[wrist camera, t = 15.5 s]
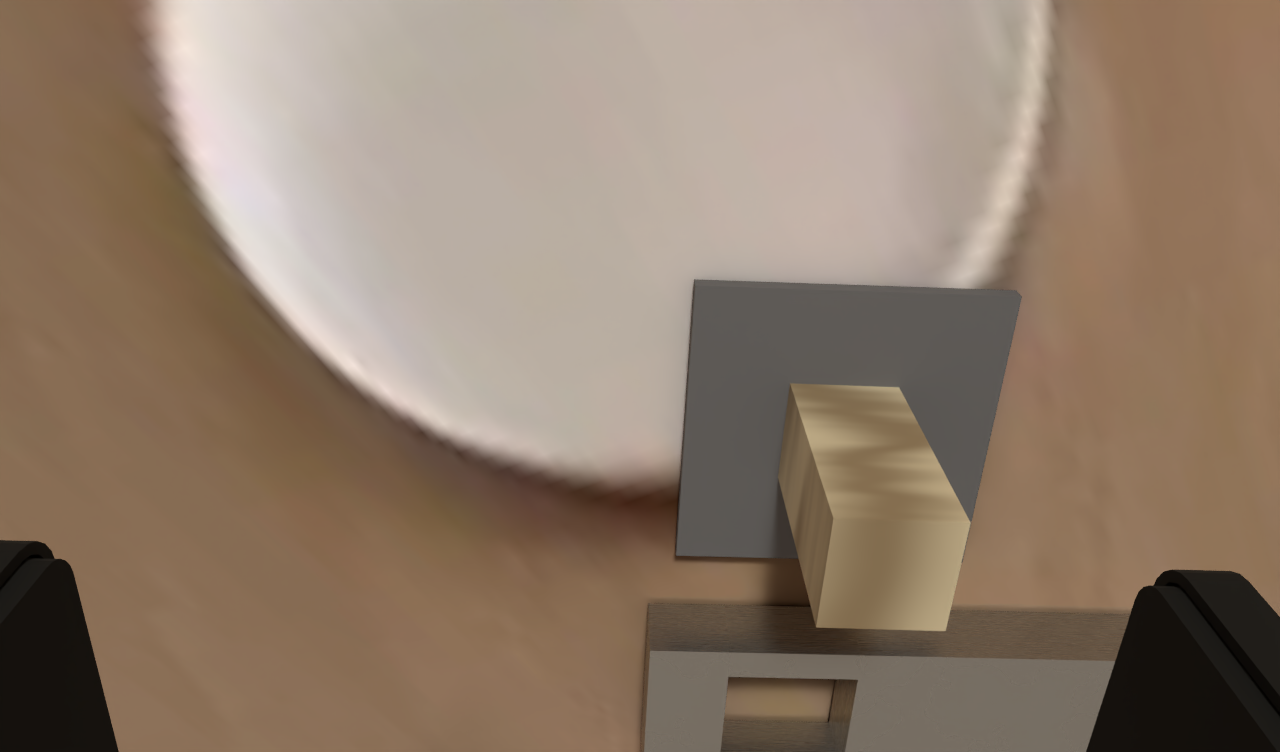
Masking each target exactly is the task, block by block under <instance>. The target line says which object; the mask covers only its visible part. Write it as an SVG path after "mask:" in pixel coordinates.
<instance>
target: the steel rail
mask: <svg viewBox="0 0 1280 752" xmlns="http://www.w3.org/2000/svg"><path fill="white" fill-rule="evenodd" d="M1129 617H1130V614H1088V613H1045V612H1003V611H960V610H950V614H949V619H948V623H947V627H946V631H923V630H887V629H851V628H816V625H815V621H814V617H813V613H812V609H811V607H791V606H748V605H706V604H663V603H648V620H647V637H646V654H645V672H644V689H643V707H642V724H641V752H1086V750H1087V747H1088V744H1089V741H1090V738H1091V735H1092V732H1093V728H1094V725H1095V722H1096V719H1097V716H1098V713H1099V710H1100V707H1101V704H1102V701H1103V698H1104V694H1105V691H1106V688H1107V685H1108V682H1109V679H1110V676H1111V673H1112V670H1113V667H1114V664H1115V660H1116V657H1117V654H1118V651H1119V648H1120V645H1121V642H1122V639H1123V636H1124V633H1125V629H1126V626H1127V623H1128V620H1129ZM728 677H759V678H805V679H836V682H835V688H834V694H833V700H832V706H831V712H830V718H829V722H795V721H745V720H724V714H725V704H726V695H727V685H728Z"/></svg>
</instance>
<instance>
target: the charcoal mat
mask: <svg viewBox="0 0 1280 752" xmlns="http://www.w3.org/2000/svg"><path fill="white" fill-rule="evenodd" d="M1021 298H1022V296H1021V295H1020V294H1019V293H1018V292H1017V291H1015V290H985V289H956V288H926V287H896V286H867V285H837V284H808V283H778V282H749V281H719V280H694V290H693V304H692V318H691V333H690V347H689V361H688V375H687V390H686V404H685V418H684V433H683V447H682V461H681V475H680V490H679V504H678V518H677V532H676V556H713V557H753V558H793V559H799V558H798V554H797V550H796V546H795V542H794V538H793V534H792V530H791V526H790V523H789V519H788V515H787V511H786V507H785V503H784V499H783V495H782V491H781V487H780V483H779V479H778V473H779V465H780V458H781V450H782V442H783V434H784V426H785V418H786V411H787V403H788V395H789V387H790V383H794V384H821V385H849V386H876V387H899V388H900V390H901V392H902V394H903V396H904V397H905V399H906V401H907V403H908V405H909V407H910V409H911V411H912V413H913V414H914V416H915V418H916V420H917V422H918V424H919V426H920V428H921V430H922V432H923V433H924V435H925V437H926V439H927V441H928V443H929V445H930V447H931V449H932V450H933V452H934V454H935V456H936V458H937V460H938V462H939V464H940V466H941V468H942V469H943V471H944V473H945V475H946V477H947V479H948V481H949V483H950V485H951V487H952V488H953V490H954V492H955V494H956V496H957V498H958V500H959V502H960V504H961V505H962V507H963V509H964V511H965V513H966V515H967V517H968V519H969V521H970V523H971V521H972V517H973V512H974V508H975V503H976V499H977V494H978V490H979V485H980V481H981V476H982V472H983V468H984V463H985V459H986V454H987V450H988V445H989V441H990V436H991V432H992V427H993V423H994V418H995V414H996V410H997V405H998V401H999V396H1000V392H1001V387H1002V383H1003V378H1004V374H1005V369H1006V365H1007V360H1008V356H1009V352H1010V347H1011V343H1012V338H1013V334H1014V329H1015V325H1016V320H1017V316H1018V311H1019V307H1020V302H1021ZM970 526H971V524H970ZM969 530H970V528H969ZM968 534H969V532H968ZM967 539H968V537H967ZM966 543H967V541H966ZM965 548H966V545H965ZM964 552H965V550H964ZM963 557H964V554H963ZM962 561H963V558H962Z"/></svg>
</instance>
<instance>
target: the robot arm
mask: <svg viewBox="0 0 1280 752" xmlns="http://www.w3.org/2000/svg"><path fill="white" fill-rule="evenodd" d="M0 752H119V751H118V747H117V743H116V740H115V736H114V732H113V728H112V724H111V720H110V716H109V712H108V708H107V704H106V700H105V696H104V692H103V688H102V684H101V680H100V676H99V672H98V668H97V664H96V660H95V657H94V653H93V649H92V645H91V641H90V637H89V633H88V629H87V625H86V621H85V617H84V613H83V609H82V605H81V601H80V597H79V593H78V589H77V585H76V581H75V578H74V574H73V571H72V569H71V566H70V565H69V564H68V563H67V562H66V561H65V560H62V559H54V556H53V554H52V551H51V550H50V549H49V548H48V547H47V545H46V544H44V543H41V542H38V541H5V540H0ZM1086 752H1280V617H1279V616H1278V615H1277V613H1276V612H1275V611H1274V610H1273V609H1272V608H1271V607H1270V605H1269V604H1268V603H1267V602H1266V601H1265V600H1264V598H1263V597H1262V596H1261V595H1260V594H1259V593H1258V592H1257V590H1256V589H1255V588H1254V587H1253V586H1252V585H1251V584H1250V582H1249V581H1248V580H1246V579H1245V578H1244V577H1243V576H1242V575H1240V574H1238V573H1235V572H1232V571H1203V570H1169V571H1165V572H1163V573H1162V574H1161V575H1160V576H1159V577H1158V578H1157V580H1156V582H1155V584H1154V586H1146V587H1143V588H1142V589H1141V590H1140V591H1139V592H1138V595H1137V597H1136V599H1135V602H1134V605H1133V608H1132V611H1131V614H1130V617H1129V620H1128V623H1127V626H1126V629H1125V633H1124V636H1123V639H1122V642H1121V645H1120V648H1119V651H1118V654H1117V657H1116V660H1115V664H1114V667H1113V670H1112V673H1111V676H1110V679H1109V682H1108V685H1107V688H1106V691H1105V694H1104V698H1103V701H1102V704H1101V707H1100V710H1099V713H1098V716H1097V719H1096V722H1095V725H1094V728H1093V732H1092V735H1091V738H1090V741H1089V744H1088V747H1087V750H1086Z"/></svg>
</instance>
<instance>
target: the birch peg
mask: <svg viewBox="0 0 1280 752" xmlns="http://www.w3.org/2000/svg"><path fill="white" fill-rule="evenodd" d="M778 479H779V483H780V487H781V491H782V495H783V499H784V503H785V507H786V511H787V515H788V519H789V523H790V526H791V530H792V534H793V538H794V542H795V546H796V550H797V554H798V558H799V562H800V566H801V570H802V574H803V578H804V582H805V586H806V590H807V594H808V598H809V601H810V605H811V609H812V613H813V617H814V621H815V625H816V628H851V629H887V630H923V631H946V627H947V623H948V619H949V614H950V610H951V606H952V601H953V597H954V593H955V588H956V584H957V580H958V576H959V571H960V567H961V563H962V558H963V554H964V550H965V545H966V541H967V537H968V532H969V528H970V524H971V523H970V521H969V519H968V517H967V515H966V513H965V511H964V509H963V507H962V505H961V504H960V502H959V500H958V498H957V496H956V494H955V492H954V490H953V488H952V487H951V485H950V483H949V481H948V479H947V477H946V475H945V473H944V471H943V469H942V468H941V466H940V464H939V462H938V460H937V458H936V456H935V454H934V452H933V450H932V449H931V447H930V445H929V443H928V441H927V439H926V437H925V435H924V433H923V432H922V430H921V428H920V426H919V424H918V422H917V420H916V418H915V416H914V414H913V413H912V411H911V409H910V407H909V405H908V403H907V401H906V399H905V397H904V396H903V394H902V392H901V390H900V388H899V387H876V386H849V385H821V384H794V383H790V387H789V395H788V403H787V411H786V418H785V426H784V434H783V442H782V450H781V458H780V465H779V473H778Z"/></svg>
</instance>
